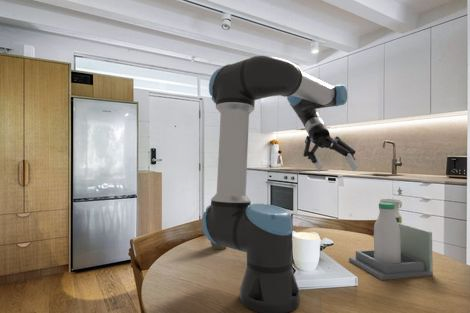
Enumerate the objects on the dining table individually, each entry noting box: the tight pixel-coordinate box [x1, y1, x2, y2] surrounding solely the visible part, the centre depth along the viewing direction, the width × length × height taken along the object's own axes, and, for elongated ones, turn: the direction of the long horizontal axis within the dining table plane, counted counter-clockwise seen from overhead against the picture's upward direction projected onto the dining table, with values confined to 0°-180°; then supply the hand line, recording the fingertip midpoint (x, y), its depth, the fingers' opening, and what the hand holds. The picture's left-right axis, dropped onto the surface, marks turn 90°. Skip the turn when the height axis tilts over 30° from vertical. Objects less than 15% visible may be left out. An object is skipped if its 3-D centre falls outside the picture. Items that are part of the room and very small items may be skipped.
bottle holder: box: [348, 223, 434, 281], centre depth 90 cm, size 18×16×13 cm
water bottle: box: [379, 187, 403, 224], centre depth 111 cm, size 8×9×25 cm
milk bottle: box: [373, 202, 401, 264], centre depth 90 cm, size 8×8×20 cm
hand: (338, 168), depth 96 cm, fingers open, 13 cm apart
